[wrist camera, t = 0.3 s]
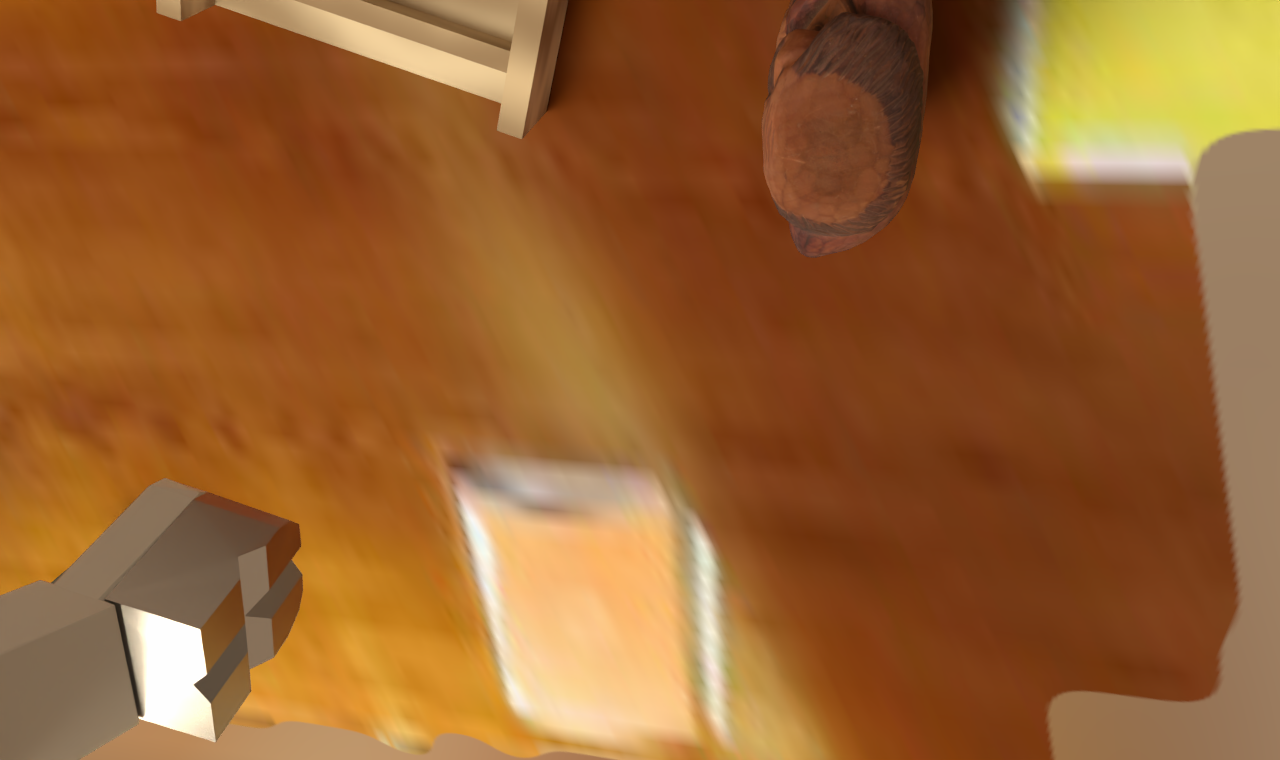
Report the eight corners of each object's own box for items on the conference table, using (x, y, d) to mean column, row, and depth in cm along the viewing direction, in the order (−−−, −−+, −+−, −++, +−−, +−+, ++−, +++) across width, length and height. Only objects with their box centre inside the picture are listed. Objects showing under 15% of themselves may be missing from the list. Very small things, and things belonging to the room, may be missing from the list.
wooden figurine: (805, -113, 49) (738, -10, 34) (948, -111, 47) (941, -3, 33) (792, 132, 55) (732, 303, 41) (917, 140, 54) (900, 320, 40)
